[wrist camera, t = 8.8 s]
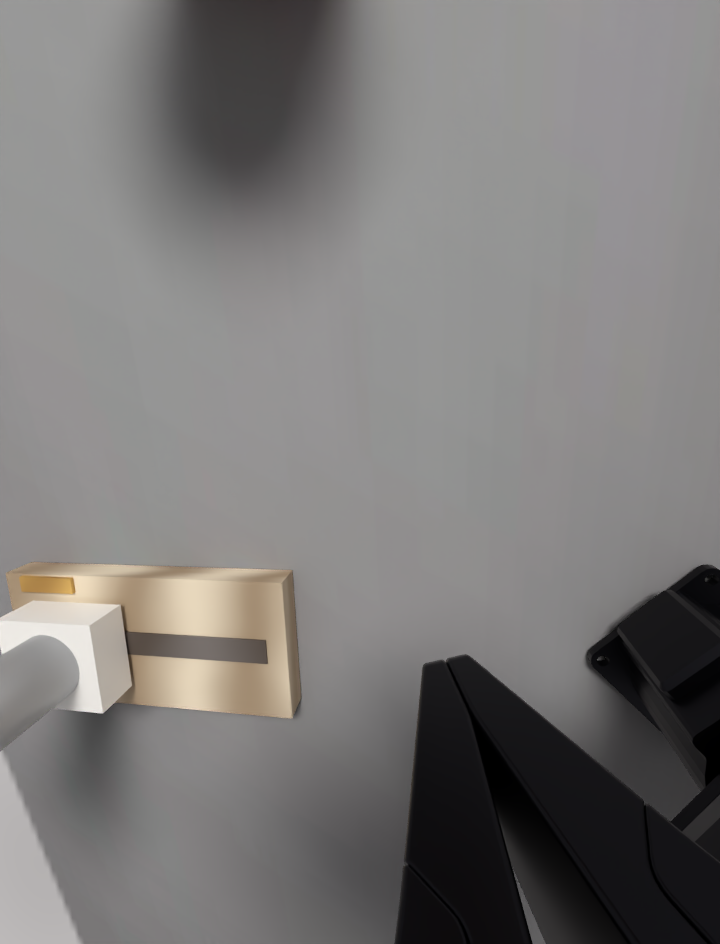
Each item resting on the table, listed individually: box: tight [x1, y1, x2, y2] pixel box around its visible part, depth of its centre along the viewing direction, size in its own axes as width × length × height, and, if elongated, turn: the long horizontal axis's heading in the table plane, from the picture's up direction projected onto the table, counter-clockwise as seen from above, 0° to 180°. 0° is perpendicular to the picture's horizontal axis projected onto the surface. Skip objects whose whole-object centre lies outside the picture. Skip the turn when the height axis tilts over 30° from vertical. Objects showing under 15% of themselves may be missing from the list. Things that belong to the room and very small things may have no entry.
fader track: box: [6, 562, 301, 719], centre depth 23 cm, size 15×7×2 cm, turn 92°
